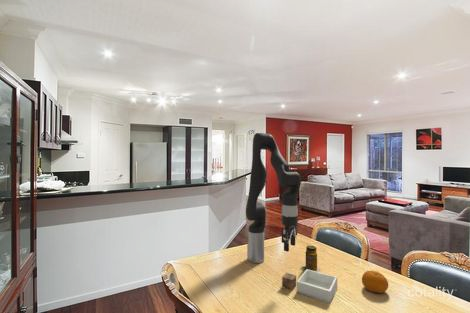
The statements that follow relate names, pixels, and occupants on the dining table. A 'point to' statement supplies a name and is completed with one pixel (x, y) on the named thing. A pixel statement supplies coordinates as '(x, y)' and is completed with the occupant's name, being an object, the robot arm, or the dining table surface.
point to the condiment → (311, 259)
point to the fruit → (374, 281)
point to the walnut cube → (289, 281)
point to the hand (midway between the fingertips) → (289, 248)
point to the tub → (317, 285)
